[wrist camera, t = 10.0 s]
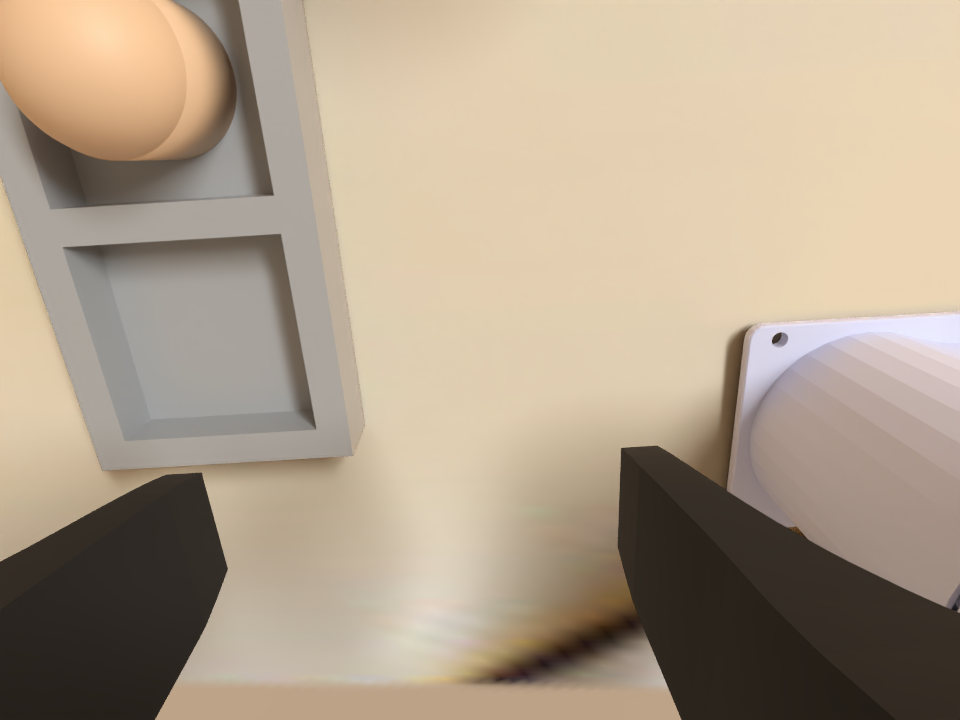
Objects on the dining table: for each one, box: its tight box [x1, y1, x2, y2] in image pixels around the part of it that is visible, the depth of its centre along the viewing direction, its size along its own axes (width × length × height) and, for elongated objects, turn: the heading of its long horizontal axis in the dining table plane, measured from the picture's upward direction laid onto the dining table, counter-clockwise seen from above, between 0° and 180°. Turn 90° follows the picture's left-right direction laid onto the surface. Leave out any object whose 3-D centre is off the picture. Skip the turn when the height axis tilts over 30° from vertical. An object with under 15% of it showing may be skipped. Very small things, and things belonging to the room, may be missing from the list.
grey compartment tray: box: [0, 0, 365, 471], centre depth 15 cm, size 8×22×2 cm, turn 3°
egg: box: [0, 0, 237, 161], centre depth 13 cm, size 4×4×4 cm
